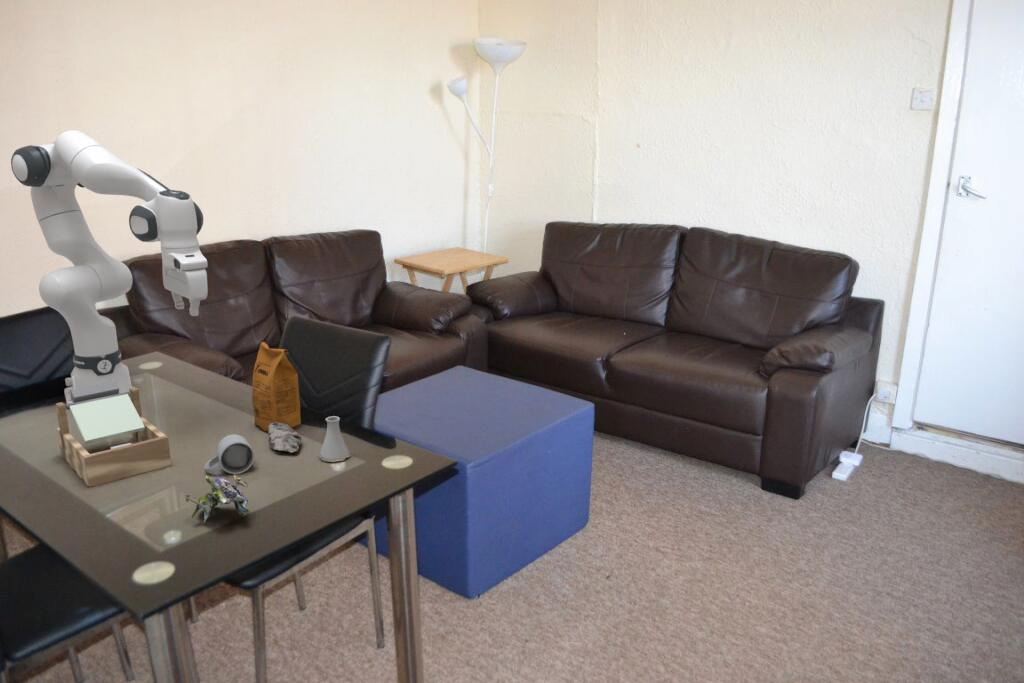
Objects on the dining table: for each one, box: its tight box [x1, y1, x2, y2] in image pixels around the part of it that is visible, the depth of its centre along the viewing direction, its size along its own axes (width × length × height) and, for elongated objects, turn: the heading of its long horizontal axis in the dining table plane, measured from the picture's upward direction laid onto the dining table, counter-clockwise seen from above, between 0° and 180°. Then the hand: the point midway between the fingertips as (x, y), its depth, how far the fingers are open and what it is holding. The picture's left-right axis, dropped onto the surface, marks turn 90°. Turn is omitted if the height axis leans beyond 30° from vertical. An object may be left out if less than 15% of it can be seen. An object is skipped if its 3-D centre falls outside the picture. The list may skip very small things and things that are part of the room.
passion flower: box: [184, 474, 249, 526], centre depth 165 cm, size 11×11×12 cm
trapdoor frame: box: [55, 386, 172, 488], centre depth 192 cm, size 23×18×14 cm
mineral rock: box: [267, 422, 302, 453], centre depth 202 cm, size 15×8×4 cm, turn 15°
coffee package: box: [251, 341, 302, 433], centre depth 213 cm, size 10×12×22 cm
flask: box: [318, 415, 350, 460], centre depth 195 cm, size 7×7×10 cm
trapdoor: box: [65, 381, 145, 445], centre depth 194 cm, size 16×14×3 cm
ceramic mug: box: [203, 433, 255, 475], centre depth 189 cm, size 11×8×8 cm
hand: (187, 312), depth 205 cm, fingers open, 8 cm apart
